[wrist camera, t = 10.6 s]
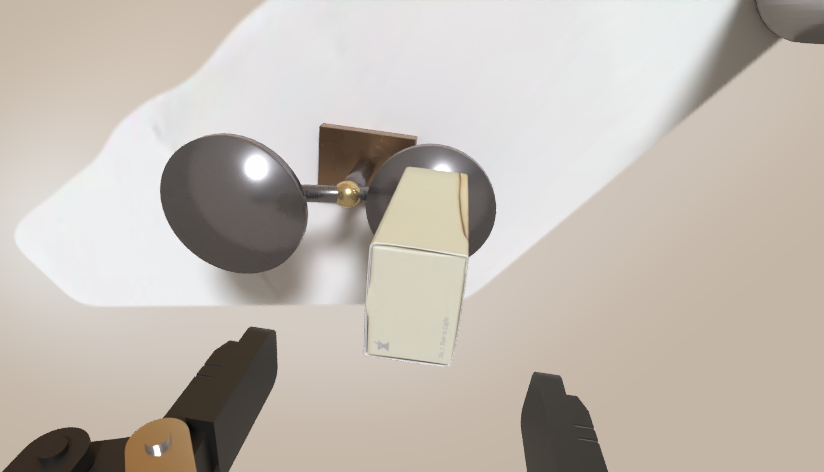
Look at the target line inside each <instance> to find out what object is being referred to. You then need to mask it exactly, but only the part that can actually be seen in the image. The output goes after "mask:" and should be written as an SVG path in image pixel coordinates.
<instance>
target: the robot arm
mask: <svg viewBox="0 0 824 472" xmlns="http://www.w3.org/2000/svg"><path fill="white" fill-rule="evenodd" d="M756 2H757V8H758V10H759V13H760V15H761V18H762V20H763V21H764V23H765V24H766V25H767V27H768V28H769V29H770V30H771V31H773V32H774V33H775V34H777V35H778V36H779V37H781V38H784V39H787V40H789V41H793V42H800V43H814V44H824V0H756ZM276 344H277V343H276V332H275V331H274V330H270V329H263V328H257V327H250V328H248V329H247V331H246V332H245V333H244V335H243V336H242V338H241V339H240V340H239V342H235V341H228V342H227V343H225V344H224V345H222V346H221V347H220V348H218V349H216V350H215V351H214V352H213V353H212V355H211V356H210V357H209V359H208V360H207V361H206V363H205V365H204V366H203V367H202V368H201V369H200V370H199V372H198V373H197V376H196V377H194V378H193V380H192V381H191V382H190V384H189V385H188V386H187V388H186V389H185V390H184V391H183V393H182V394H181V395H180V397H179V398H178V399H177V401H176V402H175V403H174V405H173V406H172V407H171V409H170V410H169V411H168V412H167V414H166V415H165V416H164V417H163V418H162V419H158V420H154V421H152V422H149V423H147V424H145V425H144V426H142V427H140V428H139V429H138V430H137V431H135V432H134V434H132V436H131V437H126V438H120V439H112V440H104V441H95V442H91V441H90V437H89V435H88V433H87V432H86V431H84V430H82V429H80V428H73V427H69V428H62V429H57V430H55V431H51V432H49V433H46V434H44V435H42V436H40V437H39V438H37V439H36V440H34V441H33V442H31V443H30V444H29V445H28V446H27V447H26V448H25V449H24V450H23V451H22V452H21V453H20V454H19V455H18V456H17V457H16V458H15V459H14V460H13V461H12V462H11V463H10V464H9V465H8V467H6V468H5V469H4V470H3V472H229V470H230V468H231V466H232V464H233V462H234V460H235V458H236V456H237V455H238V453H239V451H240V449H241V447H242V445H243V443H244V441H245V439H246V437H247V435H248V433H249V432H250V430H251V428H252V426H253V424H254V422H255V420H256V418H257V416H258V414H259V413H260V411H261V409H262V407H263V405H264V403H265V401H266V399H267V397H268V395H269V394H270V392H271V390H272V388H273V385H274V383H275V379H276V375H277V345H276ZM593 428H594V427H593V424H592V420H591V417H590V414H589V411H588V410H587V409H586V407H585V406H584V405H583V404H582V402H581V401H580V400H579V398H578V397H577V396H572V395H566V392H565V389H564V385H563V381H562V378H561V377H560V376H558V375H553V374H546V373H539V372H534V373H533V375H532V378H531V382H530V385H529V388H528V391H527V395H526V398H525V401H524V405H523V408H522V414H521V431H522V438H523V445H524V453H525V460H526V466H527V472H608V470H607V467H606V464H605V461H604V458H603V455H602V452H601V448H600V445H599V444H598V439H597V436H596V433H595V431H594V429H593Z"/></svg>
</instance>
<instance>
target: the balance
mask: <svg viewBox="0 0 824 472" xmlns="http://www.w3.org/2000/svg"><path fill="white" fill-rule="evenodd" d="M416 144H417V136H411V135H404V134H397V133H390V132H383V131H375V130H368V129H361V128H354V127H347V126H340V125H333V124H326V123H323V124H322V125H321V126H320V132H319V173H318V185H301V184H300V182H299V180H298V178H297V177H296V175H295V174H294V172H293V171H292V169H291V168H290V167H289V166H288V164H287V163H286V162H285V161H284V160H283V159H282V158H281V157H280V156H279V155H277V154H276V153H275V152H274V151H272V150H271V149H270V148H268V147H266V146H265V145H263V144H261V143H259V142H257V141H255V140H253V139H250V138H247V137H244V136H240V135H235V134H226V133H221V134H211V135H207V136H203V137H201V138H198V139H196V140H193V141H191V142H189V143H187V144H186V145H184V146H182V147H181V148H180V149H178V150H177V151H176V152H175V153H174V154H173V155H172V157H171V158H170V159H169V161H168V162H167V164H166V166H165V169H164V171H163V174H162V178H161V186H160V194H161V202H162V207H163V210H164V213H165V216H166V218H167V221H168V223H169V225H170V226H171V228H172V230H173V231H174V233H175V234H176V236H177V237H178V238H179V239H180V241H181V242H182V243H183V244H184V245H185V246H186V247H187V248H188V249H189V250H190V251H191V252H193V253H194V254H195V255H196V256H198V257H199V258H201V259H202V260H204V261H206V262H207V263H209V264H211V265H213V266H216V267H218V268H221V269H224V270H227V271H231V272H236V273H259V272H264V271H267V270H270V269H272V268H275V267H277V266H278V265H280V264H282V263H283V262H284V261H286V260H287V259H288V258H289V257H290V256H291V255H292V253H293V252H294V251H295V250H296V248H297V247H298V245H299V244H300V242H301V240H302V239H303V236H304V234H305V231H306V227H307V220H308V209H307V202H337V204H338V205H340V206H341V207H344V208H352V207H355V206H356V205H357V204H358V203H366V213H367V219H368V222H369V226H370V228H371V230H372V233H373V234H374V235H375V233H376V231H377V229H378V227H379V224H380V222H381V220H382V218H383V216H384V214H385V212H386V210H387V207H388V205H389V203H390V201H391V199H392V196H393V194H394V192H395V190H396V188H397V186H398V184H399V182H400V179H401V177H402V175H403V173H404V171H405V169H406V168H407V167H416V168H425V169H433V170H441V171H449V172H455V173H462V174H467V175H468V244H469V248H468V251H469V257H470V256H471V255H473V254H474V253H475V252H476V251H477V250H478V249H479V248H480V247H481V246H482V245H483V244H484V243H485V241H486V240H487V238H488V237H489V235H490V233H491V230H492V228H493V225H494V221H495V215H496V202H495V195H494V191H493V188H492V184H491V182H490V180H489V178H488V176H487V174H486V173H485V171H484V170H483V169H482V167H481V166H480V165H479V164H478V163H477V162H476V161H475V160H474V159H472V158H471V157H470V156H468V155H467V154H465V153H464V152H462V151H460V150H458V149H455V148H452V147H449V146H445V145H440V144H421V145H416Z"/></svg>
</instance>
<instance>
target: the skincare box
mask: <svg viewBox="0 0 824 472" xmlns="http://www.w3.org/2000/svg"><path fill="white" fill-rule="evenodd" d="M468 248H469V244H468V175H467V174H462V173H455V172H449V171H441V170H433V169H425V168H416V167H407V168H406V169H405V171H404V173H403V175H402V177H401V179H400V182H399V184H398V186H397V188H396V190H395V192H394V194H393V196H392V199H391V201H390V203H389V205H388V207H387V210H386V212H385V214H384V216H383V218H382V220H381V222H380V224H379V227H378V229H377V231H376V233H375V235H374V237H373V239H372V242H371V244H370V247H369V257H368V269H367V283H366V298H365V329H364V355H365V356H371V357H378V358H385V359H391V360H397V361H405V362H412V363H418V364H428V365H435V366H443V367H450V366H451V363H452V360H453V355H454V351H455V346H456V341H457V335H458V330H459V324H460V318H461V312H462V305H463V298H464V291H465V284H466V277H467V268H468V260H469V251H468Z"/></svg>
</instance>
